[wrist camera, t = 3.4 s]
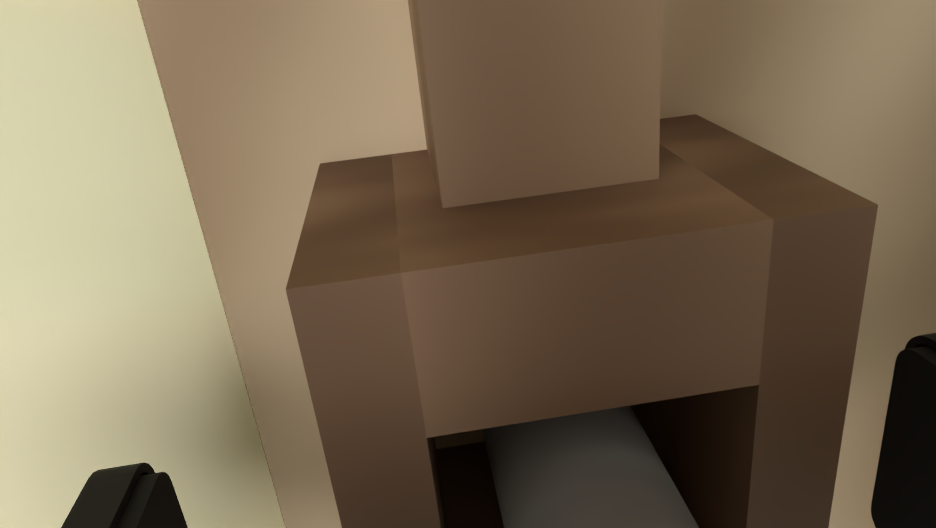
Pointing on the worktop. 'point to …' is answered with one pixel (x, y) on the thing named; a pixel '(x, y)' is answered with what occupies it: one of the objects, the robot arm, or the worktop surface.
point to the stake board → (402, 130)
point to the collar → (575, 279)
